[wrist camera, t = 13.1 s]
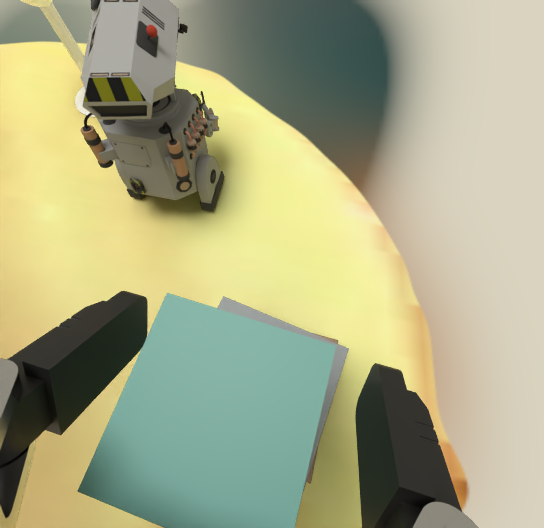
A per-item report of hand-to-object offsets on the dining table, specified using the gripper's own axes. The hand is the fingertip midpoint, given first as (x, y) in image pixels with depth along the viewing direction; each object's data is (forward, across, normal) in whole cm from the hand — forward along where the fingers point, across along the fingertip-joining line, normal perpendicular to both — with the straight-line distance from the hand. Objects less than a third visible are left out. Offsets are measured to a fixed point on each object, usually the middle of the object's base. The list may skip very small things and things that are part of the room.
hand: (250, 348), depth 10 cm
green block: (+4, 0, +6) cm, 8 cm away
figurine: (+23, +14, 0) cm, 27 cm away
